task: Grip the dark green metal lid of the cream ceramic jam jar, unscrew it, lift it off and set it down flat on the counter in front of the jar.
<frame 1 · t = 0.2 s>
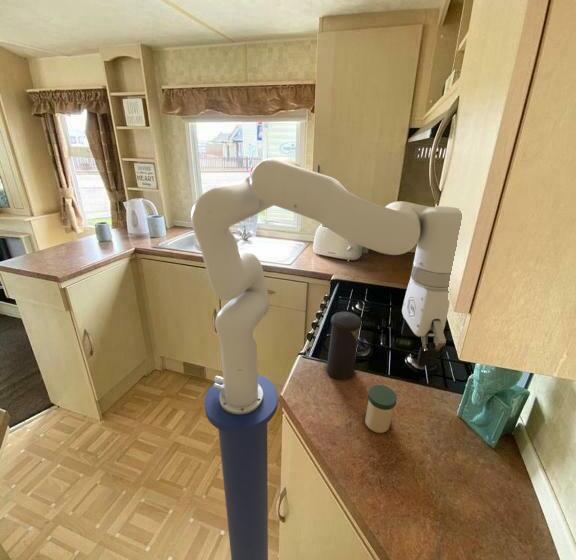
hand: (416, 349, 66), 27 cm above the worktop, tool pointing down, fingers open, 9 cm apart
container: (339, 371, 99), on the worktop
jam lid: (382, 395, 78), point 9 cm above the worktop, screwed on, not yet turned
jam jar: (377, 422, 82), on the worktop
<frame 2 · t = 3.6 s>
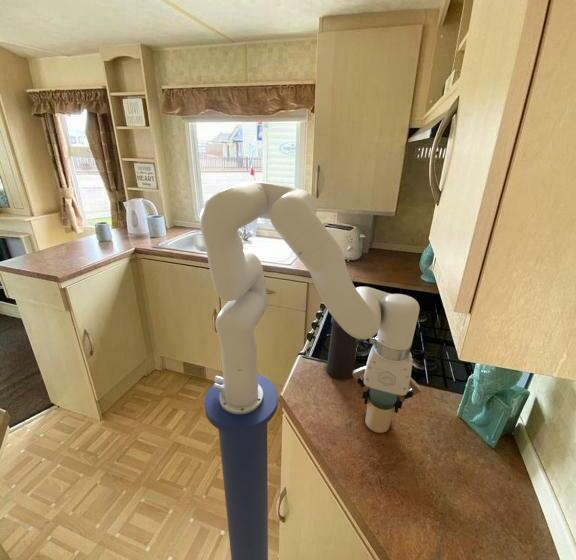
hand: (380, 404, 79), 7 cm above the worktop, tool pointing down, fingers closed on jam lid, 6 cm apart
jam lid: (382, 395, 78), point 9 cm above the worktop, screwed on, not yet turned, touching gripper
everything else where it was.
when the fingers open (5 cm above the worktop, at t = 5.9 s): jam lid stays where it is, point 9 cm above the worktop.
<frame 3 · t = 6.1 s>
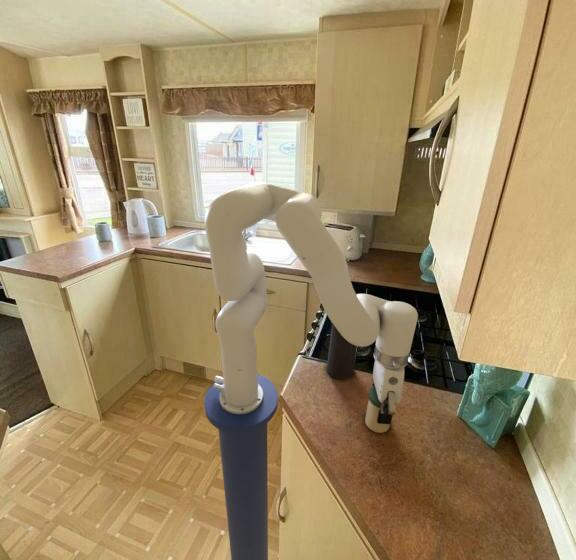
hand: (380, 408, 79), 5 cm above the worktop, tool pointing down, fingers open, 8 cm apart
jam lid: (382, 395, 78), point 9 cm above the worktop, turned 105° so far, risen 0.1 cm, still on its thread
everything else where it was.
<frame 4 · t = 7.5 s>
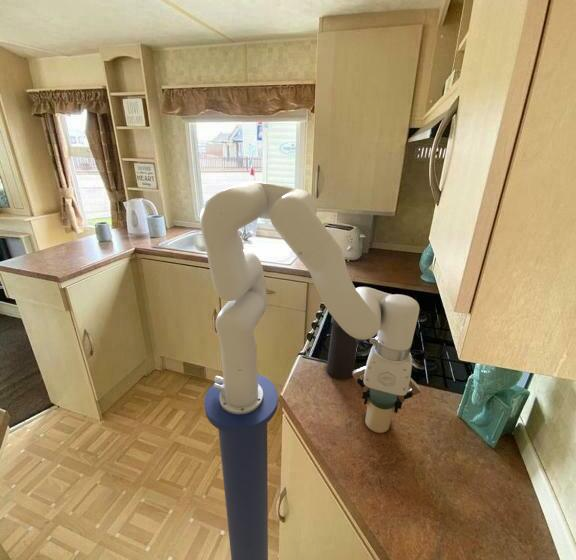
hand: (380, 404, 79), 6 cm above the worktop, tool pointing down, fingers closed on jam lid, 6 cm apart
jam lid: (382, 395, 78), point 9 cm above the worktop, turned 105° so far, risen 0.2 cm, still on its thread, touching gripper
everything else where it was.
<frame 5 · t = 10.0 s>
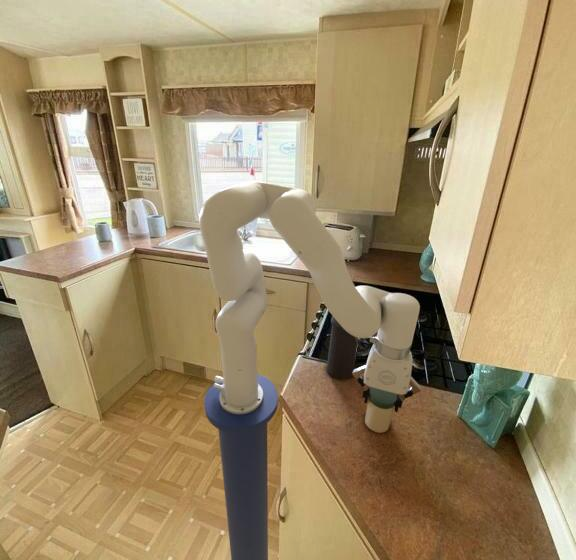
hand: (380, 403, 79), 7 cm above the worktop, tool pointing down, fingers closed on jam lid, 6 cm apart
jam lid: (382, 394, 77), point 10 cm above the worktop, turned 209° so far, risen 0.3 cm, still on its thread, touching gripper
everything else where it was.
when the fingers open (6 cm above the worktop, at t = 12.1 s): jam lid stays where it is, point 10 cm above the worktop.
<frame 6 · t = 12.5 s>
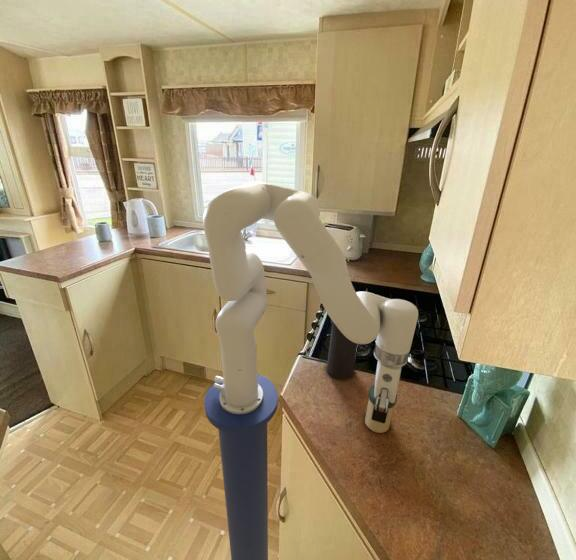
hand: (380, 405, 79), 6 cm above the worktop, tool pointing down, fingers open, 9 cm apart
jam lid: (382, 394, 77), point 10 cm above the worktop, turned 314° so far, risen 0.4 cm, still on its thread
everything else where it was.
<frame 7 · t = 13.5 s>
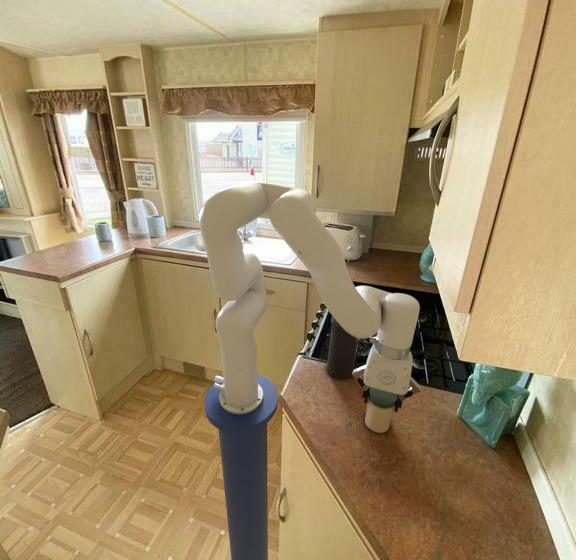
hand: (380, 403, 79), 7 cm above the worktop, tool pointing down, fingers closed on jam lid, 6 cm apart
jam lid: (382, 394, 77), point 10 cm above the worktop, turned 314° so far, risen 0.4 cm, still on its thread, touching gripper
everything else where it was.
when the fingers open (1 cm above the worktop, at t = 21.9 s): jam lid drops 3 cm, point 1 cm above the worktop.
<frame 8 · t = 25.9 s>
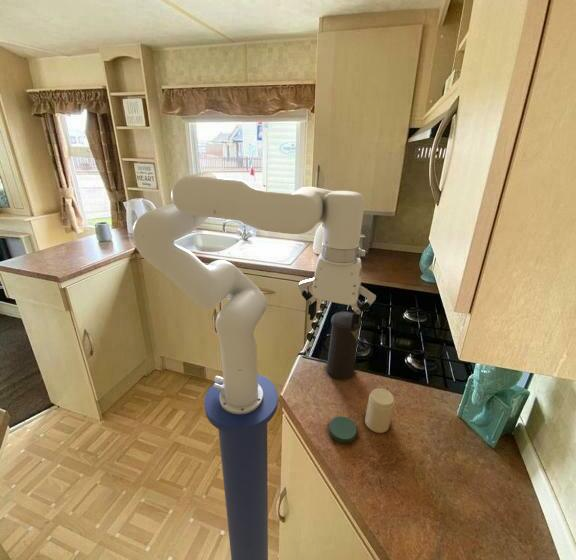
hand: (332, 321, 73), 28 cm above the worktop, tool pointing down, fingers open, 9 cm apart
jam lid: (342, 428, 78), point 1 cm above the worktop, off its thread
everything else where it was.
at the end: jam lid came off its thread; jam lid point 1.1 cm above the worktop; the gripper is holding nothing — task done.
